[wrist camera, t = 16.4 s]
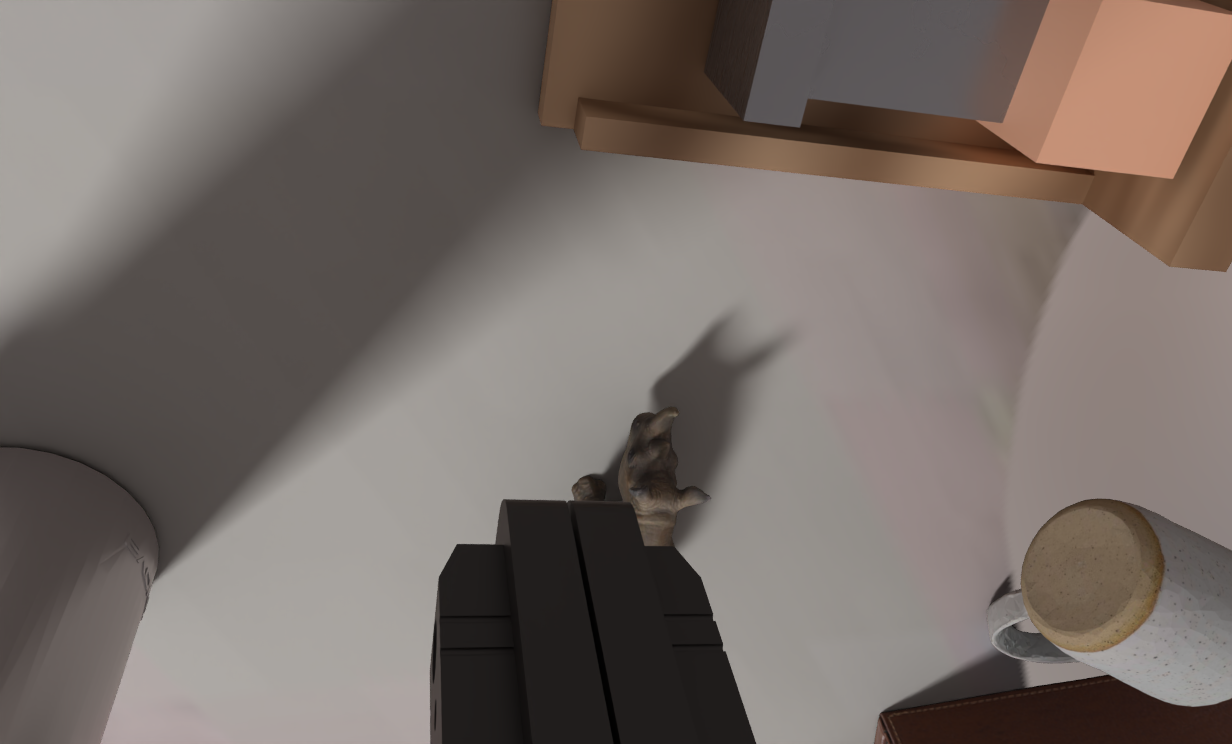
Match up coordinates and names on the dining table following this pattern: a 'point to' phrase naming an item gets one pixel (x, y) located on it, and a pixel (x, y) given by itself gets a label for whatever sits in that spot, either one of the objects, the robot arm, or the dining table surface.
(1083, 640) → the ceramic mug
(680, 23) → the wooden tray
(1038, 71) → the block
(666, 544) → the rhino figurine
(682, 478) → the dining table surface
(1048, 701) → the letter holder
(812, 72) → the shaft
